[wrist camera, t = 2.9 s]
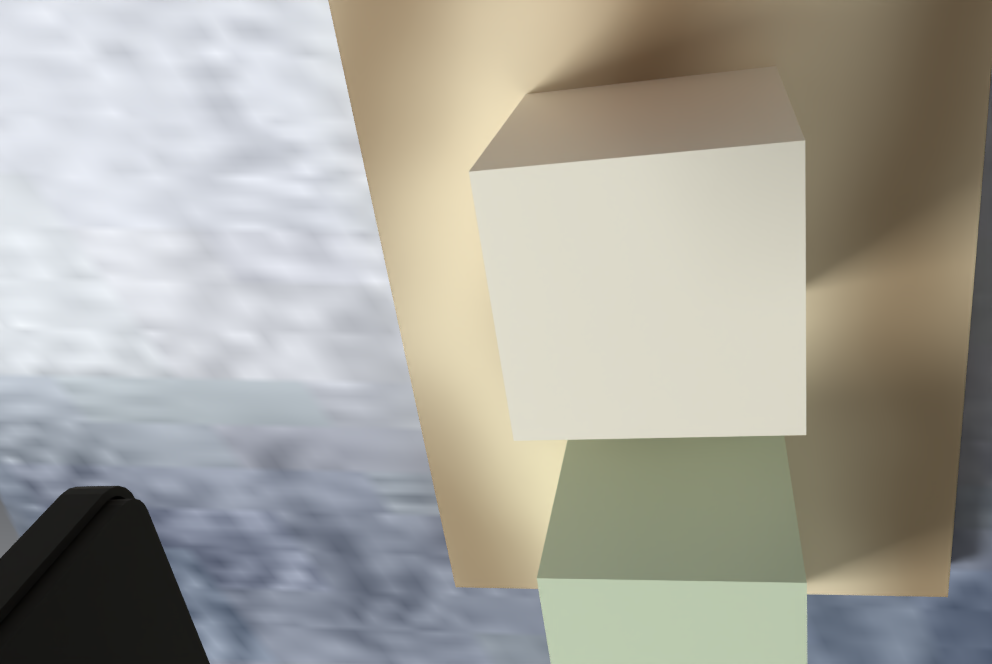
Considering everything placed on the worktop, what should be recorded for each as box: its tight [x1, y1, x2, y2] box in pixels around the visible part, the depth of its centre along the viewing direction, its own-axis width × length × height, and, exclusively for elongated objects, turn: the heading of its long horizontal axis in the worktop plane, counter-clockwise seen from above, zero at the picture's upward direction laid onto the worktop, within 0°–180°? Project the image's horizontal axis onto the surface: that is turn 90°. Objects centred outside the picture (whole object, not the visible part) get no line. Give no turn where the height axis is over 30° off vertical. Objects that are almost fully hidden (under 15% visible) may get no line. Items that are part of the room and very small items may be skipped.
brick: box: [537, 436, 807, 664], centre depth 23 cm, size 6×6×6 cm
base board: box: [328, 0, 992, 597], centre depth 19 cm, size 14×24×7 cm, turn 9°
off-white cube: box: [469, 66, 806, 441], centre depth 19 cm, size 6×6×6 cm
